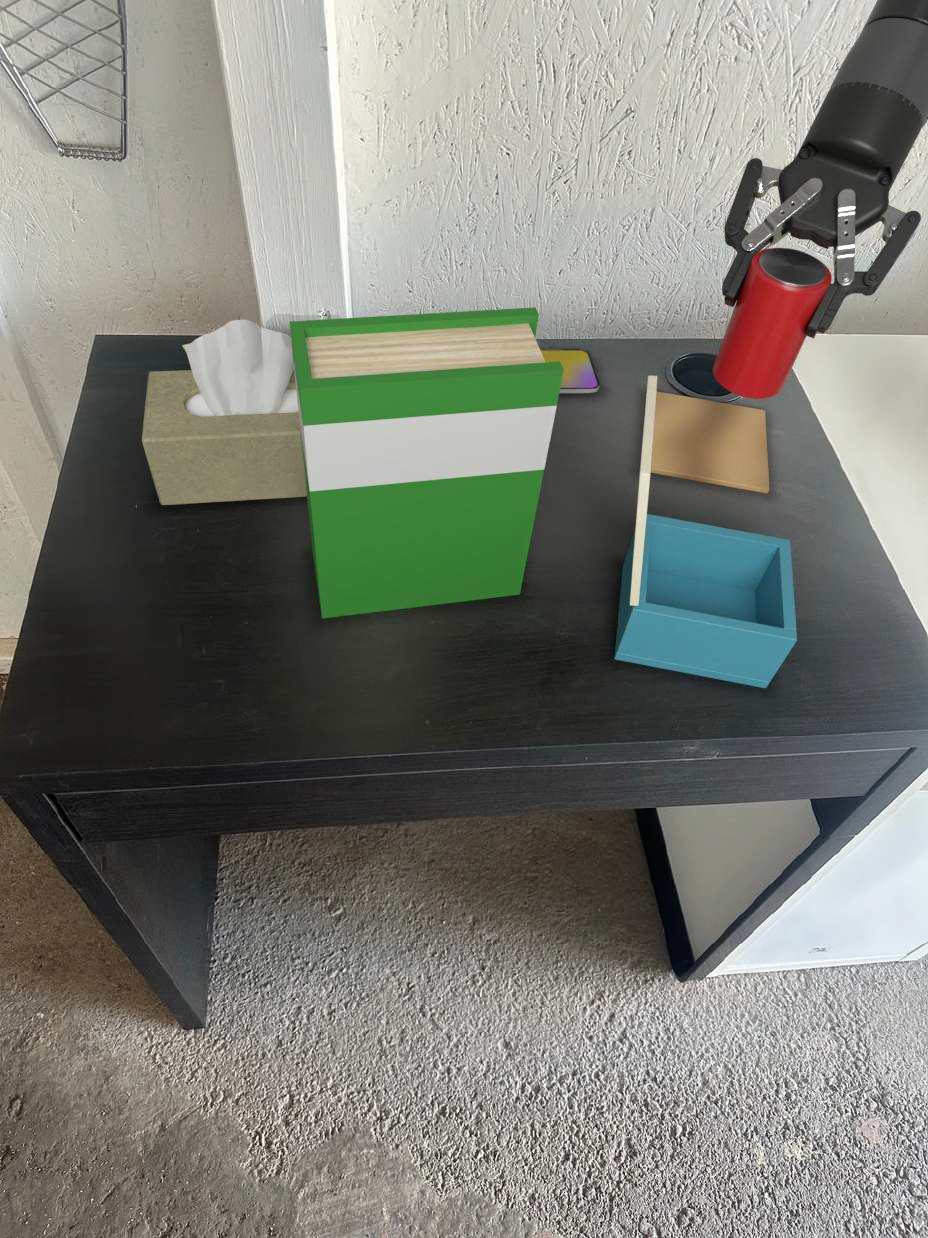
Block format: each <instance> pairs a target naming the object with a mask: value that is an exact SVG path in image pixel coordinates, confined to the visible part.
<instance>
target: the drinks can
mask: <svg viewBox="0 0 928 1238" xmlns="http://www.w3.org/2000/svg"><path fill="white" fill-rule="evenodd" d="M832 277H833V276H832V273H831V271H830V269H829V267H828V266H827V265H826V264H824V262H822V261H821V260H820V259H818V258H816V257H815V256H813V255H811V254H810V253H808V252H804V251H802V250H798V249H794V248H790V247H789V248H788V247H769V248H767V249H765V250H762V251H760V252H758V253H757V254H756V255H754V257H753V258H752V261H751V264H750V267H749V269H748V272H747V275H746V278H745V280H744V283H743V286H742V288H741V291H740V294H739V297H738V299H737V301H736V303H735V305H734V307H733V309H732V310H733V311H732V313H731V316H730V318H729V322H728V324H727V327H726V329H725V332H724V335H723V338H722V341H721V343H720V346H719V349H718V352H717V354H716V357H715V360H714V363H713V366H712V374H713V377H714V379H715V380H716V381H717V383H718V384H719V385H720V386H721V387H723V388H724V389H726V390H727V391H729V392H730V393H732V394H734V395H737V396H739V397H743V398H748V399H755V400H761V399H762V400H763V399H764V400H765V399H769V398H772V397H775V396H777V395H778V394H780V392H782V390H783V389H784V386H785V385H786V382H787V380H788V378H789V376H790V374H791V371H792V370H793V367H794V365H795V363H796V360H797V358H798V356H799V354H800V352H801V349H802V347H803V345H804V343H805V342H806V341H805V340H806V338H807V336H806V335H805V334H806V330H807V328H808V326H809V324H810V322H811V320H812V318H813V316H814V314H815V312H816V310H817V308H818V306H819V304H820V302H821V300H822V298H823V296H824V294H825V293H826V291H827V289H828V287H829V285H830V283H832V280H833V278H832Z"/></svg>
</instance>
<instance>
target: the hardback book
mask: <svg viewBox="0 0 928 1238" xmlns="http://www.w3.org/2000/svg"><path fill="white" fill-rule="evenodd" d="M539 317H540V314H539V311H538V310H537V307H518V308H517V307H516V308H500V309H485V310H467V311H465V310H464V311H448V312H432V313H431V312H430V313H415V314H414V313H413V314H397V315H380V316H379V315H378V316H362V317H361V316H359V317H345V318H328V319H327V318H326V319H309V320H308V319H307V320H293V321H292V320H291V321H289V328H290V329H289V330H290V337H291V341H292V351H293V361H294V371H295V381H296V391H297V401H298V411H299V421H300V431H301V441H302V451H303V461H304V471H305V481H306V491H307V496H306V500H307V509H308V510H307V511H308V521H309V531H310V539H311V549H312V559H313V565H314V572H315V579H316V587H317V593H318V600H319V608H320V614H321V619H322V620H323V619H329V618H339V617H345V616H356V615H362V614H363V615H364V614H371V613H378V612H388V611H395V610H396V611H397V610H404V609H412V608H421V607H429V606H437V605H445V604H455V603H461V602H471V601H477V600H487V599H495V598H502V597H511V596H518V595H521V590H522V585H523V580H524V577H525V576H524V574H525V570H526V565H527V561H528V555H529V550H530V545H531V540H532V534H533V529H534V524H535V519H536V514H537V509H538V505H539V499H540V493H541V489H542V484H543V478H544V473H545V468H546V463H547V459H548V453H549V447H550V442H551V437H552V432H553V427H554V422H555V416H556V412H557V407H558V402H559V397H560V393H559V392H560V387H561V382H562V377H563V372H564V369H563V367H562V364H561V362H545V360H544V357H543V355H542V353H541V350H540V349H541V348H540V346H539V343H538V341H537V339H536V336H537V330H538V329H537V328H538V325H539V324H538V322H539Z"/></svg>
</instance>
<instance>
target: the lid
mask: <svg viewBox="0 0 928 1238" xmlns="http://www.w3.org/2000/svg"><path fill="white" fill-rule="evenodd" d="M657 390H658V375H647V382H646V395H645V406H644V407H645V408H644V418H643V430H642V443H641V455H640V466H639V478H638V479H639V480H638V491H637V503H636V516H635V517H636V518H635V527H634V531H635V541H634V554H633V567H632V579H631V592H630V605H632V606H638V605H639V595H640V584H641V573H642V562H643V551H644V540H645V529H646V518H647V514H648V505H649V495H650V484H651V474H652V473H651V460H652V446H653V433H654V419H655V405H656V391H657Z"/></svg>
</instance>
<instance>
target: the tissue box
mask: <svg viewBox="0 0 928 1238" xmlns="http://www.w3.org/2000/svg"><path fill="white" fill-rule="evenodd" d="M181 346H182V348H183V350H184V351H185V353H186V356H187V359H188V363H189V366H190V369H186V370H161V371H157V370H156V371H149V372H148V373H147V382H146V393H145V403H144V412H143V413H144V414H143V424H142V432H141V433H142V436H141V442H142V446H143V451H144V454H145V458H146V461H147V464H148V467H149V471H150V474H151V477H152V480H153V484H154V487H155V490H156V494H157V498H158V501H159V504H160V505H161V506H172V505H173V506H174V505H188V504H203V503H204V504H205V503H207V504H208V503H223V502H236V501H237V502H238V501H239V502H240V501H254V500H269V499H270V500H271V499H286V498H287V499H290V498H303V497H305V498H307V491H306V481H305V471H304V461H303V451H302V441H301V431H300V421H299V411H298V401H297V391H296V381H295V371H294V361H293V351H292V341H291V335H288V334H286V333H284V332H281V331H277V330H272V329H269V328H266V327H262V326H260V325H259V324H257V323H256V322H254V321H252V320H248V319H234V320H230V321H228V322H227V323H226V324H224V325H223V326H221V327H219V328H217V329H215V330H214V331H211V332H208V333H206V334H203V335H201V336H199V337H197V338H196V339H194V340H193V341H191V342H190V343H186V344H182V345H181Z"/></svg>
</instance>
